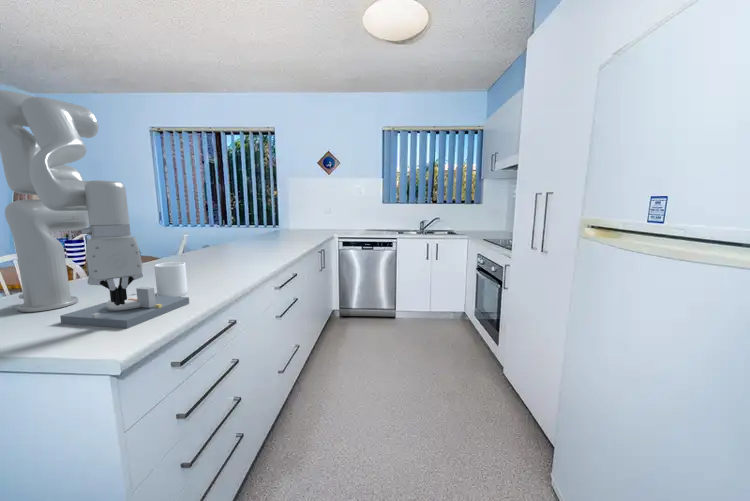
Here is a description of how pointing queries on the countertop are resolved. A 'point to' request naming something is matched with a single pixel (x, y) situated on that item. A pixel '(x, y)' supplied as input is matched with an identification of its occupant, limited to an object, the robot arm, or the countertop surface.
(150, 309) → the panel
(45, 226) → the robot arm
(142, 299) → the dial
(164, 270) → the mug
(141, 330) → the countertop surface
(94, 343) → the countertop surface
